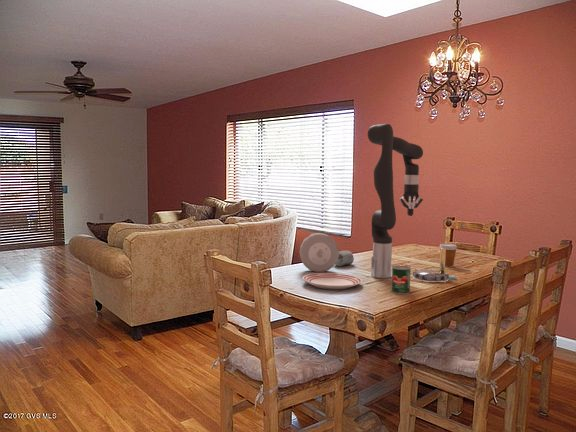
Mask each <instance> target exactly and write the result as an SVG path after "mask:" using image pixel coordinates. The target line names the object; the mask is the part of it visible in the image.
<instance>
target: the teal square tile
mask: <svg viewBox="0 0 576 432" xmlns="http://www.w3.org/2000/svg"><path fill="white" fill-rule="evenodd" d="M449 278H450V279H449V280H457V276H455V275H449Z"/></svg>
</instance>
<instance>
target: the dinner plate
mask: <svg viewBox="0 0 576 432" xmlns="http://www.w3.org/2000/svg"><path fill="white" fill-rule="evenodd" d="M302 280H303V281H304V282H305V283H307V284H309V285H312V286H314V287H316V288H320V289H324V290H346V289H350V288H351V287H355V286H357V285H359V284H361V283H362V282H363V280H362V278H360V277H358V276H355V275H350V274H345V273H336V272H313V273H308V274H305V275H303V276H302Z"/></svg>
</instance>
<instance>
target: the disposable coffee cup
mask: <svg viewBox="0 0 576 432" xmlns="http://www.w3.org/2000/svg"><path fill="white" fill-rule="evenodd" d="M438 247H439V250H440V251H439V252H440V253H441V249H442V248H443V249H446V256H445V266H453V267H454V265H455V264H454V263H455V259H456V258H455V257H456V251H457V249H458V247H457V244H453V243H440V244H439V246H438ZM440 253H439V254H440Z"/></svg>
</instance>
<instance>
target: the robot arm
mask: <svg viewBox="0 0 576 432" xmlns="http://www.w3.org/2000/svg"><path fill="white" fill-rule="evenodd" d="M367 138H368V141H369V142H371V144H374V145H380V146H381V154H380V157H379V159H378V161H377V162H376V164H375V166H374V169H373V185H374V189H375V190H376V193H377V196H378V197H379V201H380V209H378V210H376V211H374V212H373V214H372V215H371V236H372V240H373V241H372V244H373V245H372V256H371V266H370V267H371V268H370V269H371V271H370V276H372V277H373V278H378V279H389V278H392V254H393V253H392V252H393V251H392V250H393V238H392V236H391V235H390V234H389V232H388V231H389V230H392V229H393V228H394V227H395V226H396V222H397V216H396V215H397V214H396V206H395V197H394V172H393V171H394V168H393V151H395V152H396V153H398V154H400V155H402V158H403V162H404V163H403V164H404V167H405V168H404V169H405V171H404V180H403V184H404V185H403V195H402V197H400V198H398V201H399V202H400V204H401V205H402V206H403V207H404V208H406V209H407V210H406V211H407V213H406V214H407V216H409V217H412V216H413V215H414V209H417V208H418V207H419V206H420V205H421V203H422V202H423V201H424V199H423V198H421V197H420V194H419V188H420V187H419V183H420V179H419V177H420V176H419V174H420V167H419V164H416V163H414V162H413V160H420V159H421V158H422V157H423V155H424V150H423V147H421V146H420V145H418V144H416V143H412V142H409V141H408V140H406V139H403V138H401V137H397V136H395V135H394V129H393V127H392V125H391V124H390V123H380V124H379V123H378V124H374V125H372V126H370V127H369V128H368V130H367Z"/></svg>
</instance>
